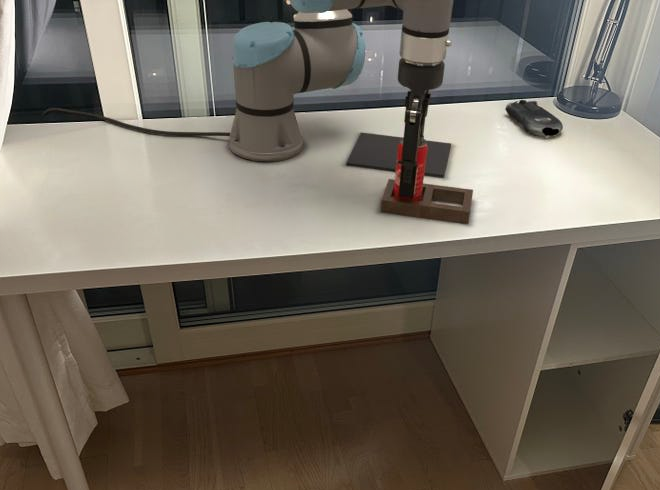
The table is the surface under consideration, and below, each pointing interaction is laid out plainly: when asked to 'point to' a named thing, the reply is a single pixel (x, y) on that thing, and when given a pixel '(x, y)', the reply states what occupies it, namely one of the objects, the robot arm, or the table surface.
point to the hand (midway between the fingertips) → (408, 189)
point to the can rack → (430, 203)
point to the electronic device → (534, 118)
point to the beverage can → (419, 173)
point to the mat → (395, 154)
